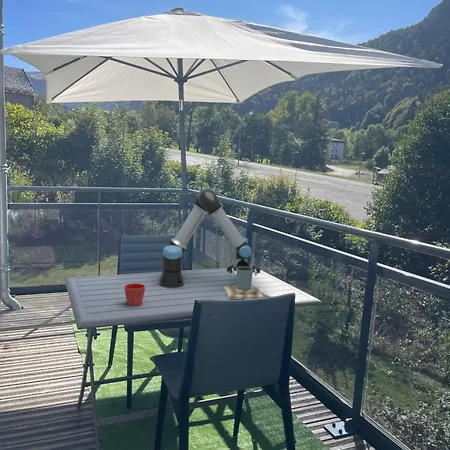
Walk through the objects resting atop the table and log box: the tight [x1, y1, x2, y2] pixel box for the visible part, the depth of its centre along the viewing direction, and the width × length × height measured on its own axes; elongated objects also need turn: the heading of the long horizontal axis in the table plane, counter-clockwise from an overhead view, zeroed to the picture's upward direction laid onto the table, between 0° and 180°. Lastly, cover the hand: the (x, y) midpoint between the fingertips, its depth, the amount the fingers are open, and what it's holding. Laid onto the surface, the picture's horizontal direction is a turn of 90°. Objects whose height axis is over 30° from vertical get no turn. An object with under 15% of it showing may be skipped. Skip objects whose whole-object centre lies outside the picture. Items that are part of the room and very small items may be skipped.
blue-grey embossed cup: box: [235, 266, 254, 290], centre depth 264 cm, size 10×10×12 cm
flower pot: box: [124, 283, 146, 307], centre depth 239 cm, size 11×11×10 cm
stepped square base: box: [223, 284, 264, 301], centre depth 265 cm, size 20×20×4 cm
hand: (244, 273), depth 265 cm, fingers open, 13 cm apart
